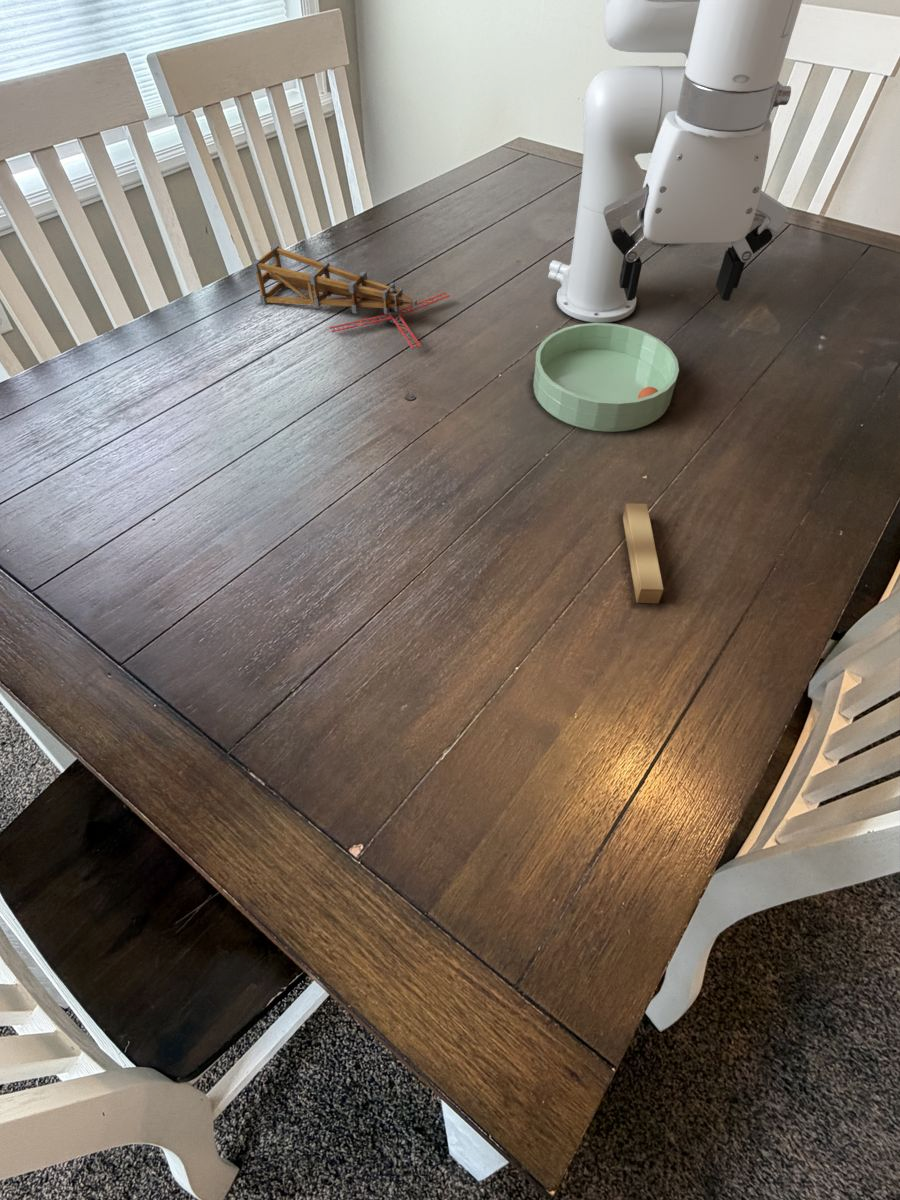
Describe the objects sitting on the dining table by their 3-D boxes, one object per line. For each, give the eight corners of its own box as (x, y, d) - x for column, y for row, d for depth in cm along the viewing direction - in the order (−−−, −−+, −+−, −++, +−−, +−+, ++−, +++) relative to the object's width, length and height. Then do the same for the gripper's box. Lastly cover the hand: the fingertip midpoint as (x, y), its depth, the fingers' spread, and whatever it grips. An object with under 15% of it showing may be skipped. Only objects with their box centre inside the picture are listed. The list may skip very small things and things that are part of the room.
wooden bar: (622, 517, 86) (626, 503, 85) (642, 518, 86) (647, 503, 84) (636, 603, 78) (640, 588, 76) (658, 603, 78) (663, 589, 76)
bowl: (507, 398, 101) (509, 369, 98) (576, 336, 111) (580, 309, 108) (631, 450, 94) (638, 421, 91) (693, 380, 104) (702, 351, 100)
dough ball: (665, 405, 98) (665, 395, 96) (645, 418, 99) (645, 408, 96) (652, 389, 99) (652, 378, 97) (633, 401, 100) (632, 391, 97)
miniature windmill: (244, 313, 114) (418, 351, 106) (249, 239, 110) (430, 271, 102) (296, 318, 127) (453, 351, 119) (302, 251, 123) (465, 281, 115)
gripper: (813, 86, 64) (750, 275, 77) (615, 86, 64) (587, 275, 77) (841, 119, 59) (768, 313, 73) (628, 119, 59) (595, 313, 73)
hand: (675, 293), depth 75 cm, fingers open, 9 cm apart
